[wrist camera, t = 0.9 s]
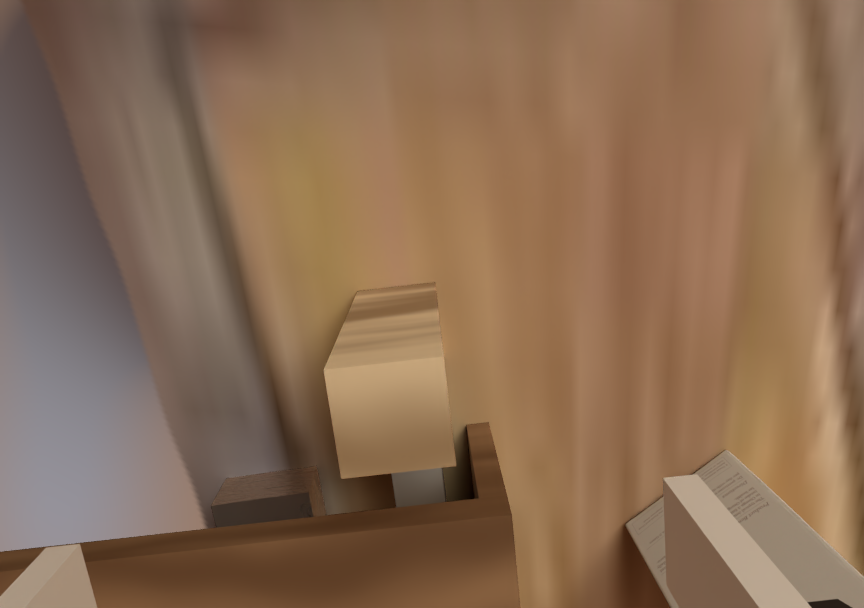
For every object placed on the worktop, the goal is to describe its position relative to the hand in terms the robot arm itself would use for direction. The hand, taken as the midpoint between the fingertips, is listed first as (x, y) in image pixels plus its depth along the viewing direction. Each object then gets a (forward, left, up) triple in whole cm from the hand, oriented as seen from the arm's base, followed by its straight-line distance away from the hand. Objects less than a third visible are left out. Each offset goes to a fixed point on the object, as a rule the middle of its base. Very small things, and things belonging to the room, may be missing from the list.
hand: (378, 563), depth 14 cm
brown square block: (+10, -8, -20) cm, 24 cm away
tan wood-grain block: (+6, 0, -20) cm, 21 cm away
